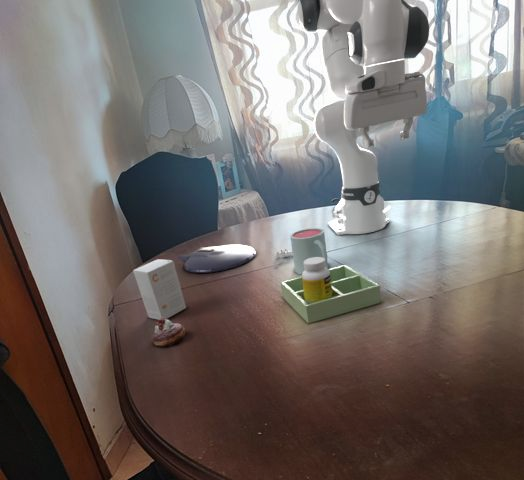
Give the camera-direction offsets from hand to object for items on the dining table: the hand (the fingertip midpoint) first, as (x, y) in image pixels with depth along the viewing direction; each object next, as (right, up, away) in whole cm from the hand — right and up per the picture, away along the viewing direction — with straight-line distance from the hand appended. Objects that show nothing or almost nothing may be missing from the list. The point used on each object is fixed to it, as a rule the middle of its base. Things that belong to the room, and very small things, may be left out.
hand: (387, 143), depth 112 cm
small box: (-55, -41, +7) cm, 69 cm away
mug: (-16, -28, +16) cm, 36 cm away
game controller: (-24, -23, +28) cm, 44 cm away
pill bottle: (-17, -41, -8) cm, 45 cm away
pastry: (-51, -48, -7) cm, 71 cm away
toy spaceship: (-46, -20, +41) cm, 64 cm away
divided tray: (-15, -38, -3) cm, 41 cm away
